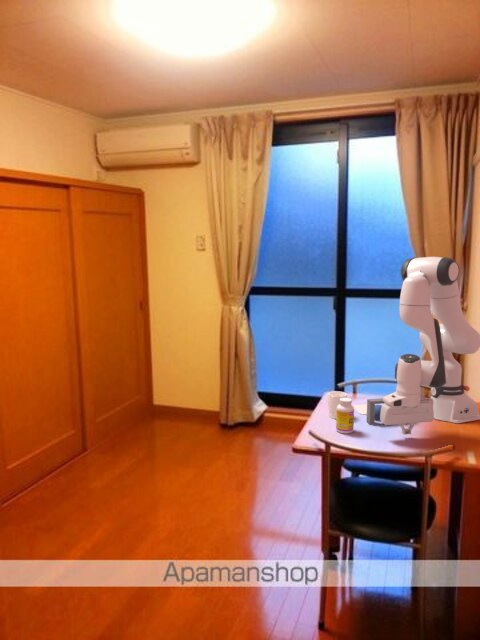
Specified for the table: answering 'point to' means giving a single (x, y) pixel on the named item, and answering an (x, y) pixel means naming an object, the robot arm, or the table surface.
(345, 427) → the supplement bottle
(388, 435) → the table surface
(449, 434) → the table surface
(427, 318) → the robot arm
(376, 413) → the ball
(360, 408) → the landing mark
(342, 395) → the white cup
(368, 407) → the bridge
